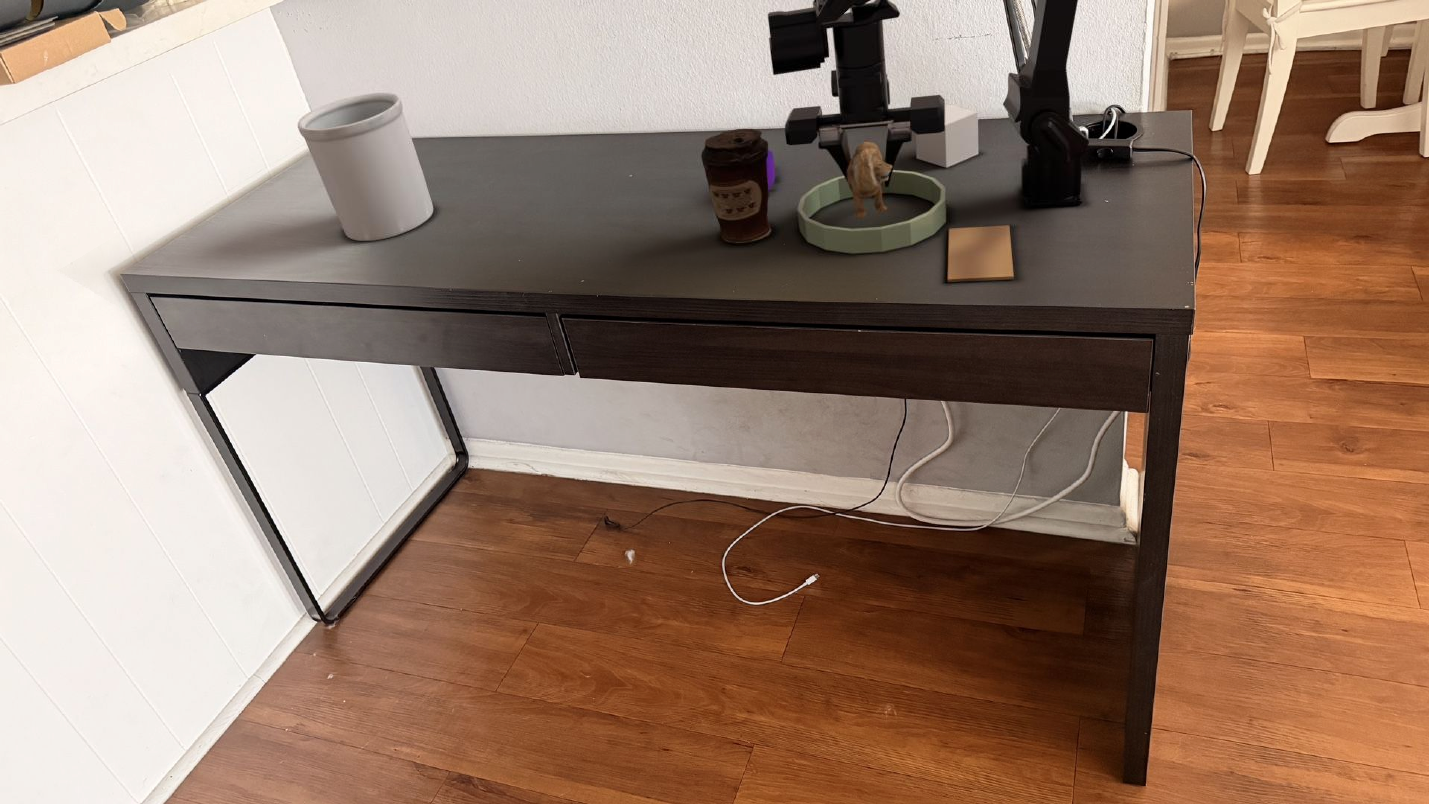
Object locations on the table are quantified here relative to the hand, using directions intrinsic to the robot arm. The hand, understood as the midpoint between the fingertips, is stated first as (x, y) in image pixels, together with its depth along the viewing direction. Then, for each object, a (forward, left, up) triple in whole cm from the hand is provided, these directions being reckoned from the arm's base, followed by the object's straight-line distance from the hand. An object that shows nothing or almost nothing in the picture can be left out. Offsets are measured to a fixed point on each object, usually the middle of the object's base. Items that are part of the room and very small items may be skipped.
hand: (870, 187), depth 127 cm
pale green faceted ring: (0, 0, -5) cm, 4 cm away
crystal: (+17, -15, -5) cm, 23 cm away
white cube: (-9, -20, -5) cm, 22 cm away
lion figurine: (-1, +1, -2) cm, 2 cm away
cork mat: (-13, +11, -5) cm, 18 cm away
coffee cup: (+16, +2, -5) cm, 17 cm away
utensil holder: (+74, -10, -5) cm, 75 cm away
